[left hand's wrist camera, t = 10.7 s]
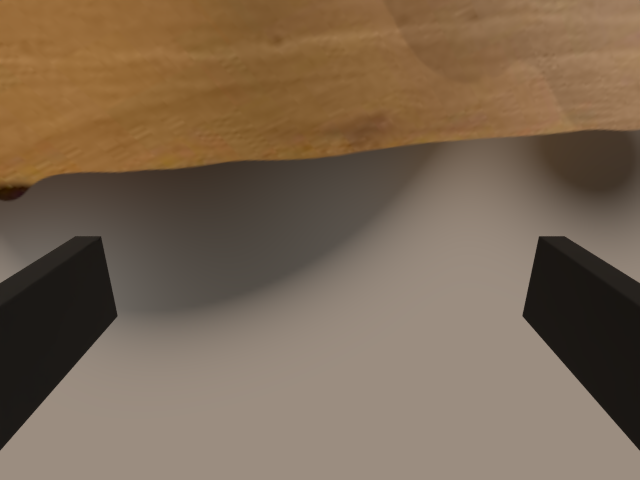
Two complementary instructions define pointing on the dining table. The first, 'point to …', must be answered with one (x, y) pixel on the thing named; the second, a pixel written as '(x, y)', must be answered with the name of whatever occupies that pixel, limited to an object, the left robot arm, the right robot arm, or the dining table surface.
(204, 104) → the dining table surface
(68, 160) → the dining table surface
